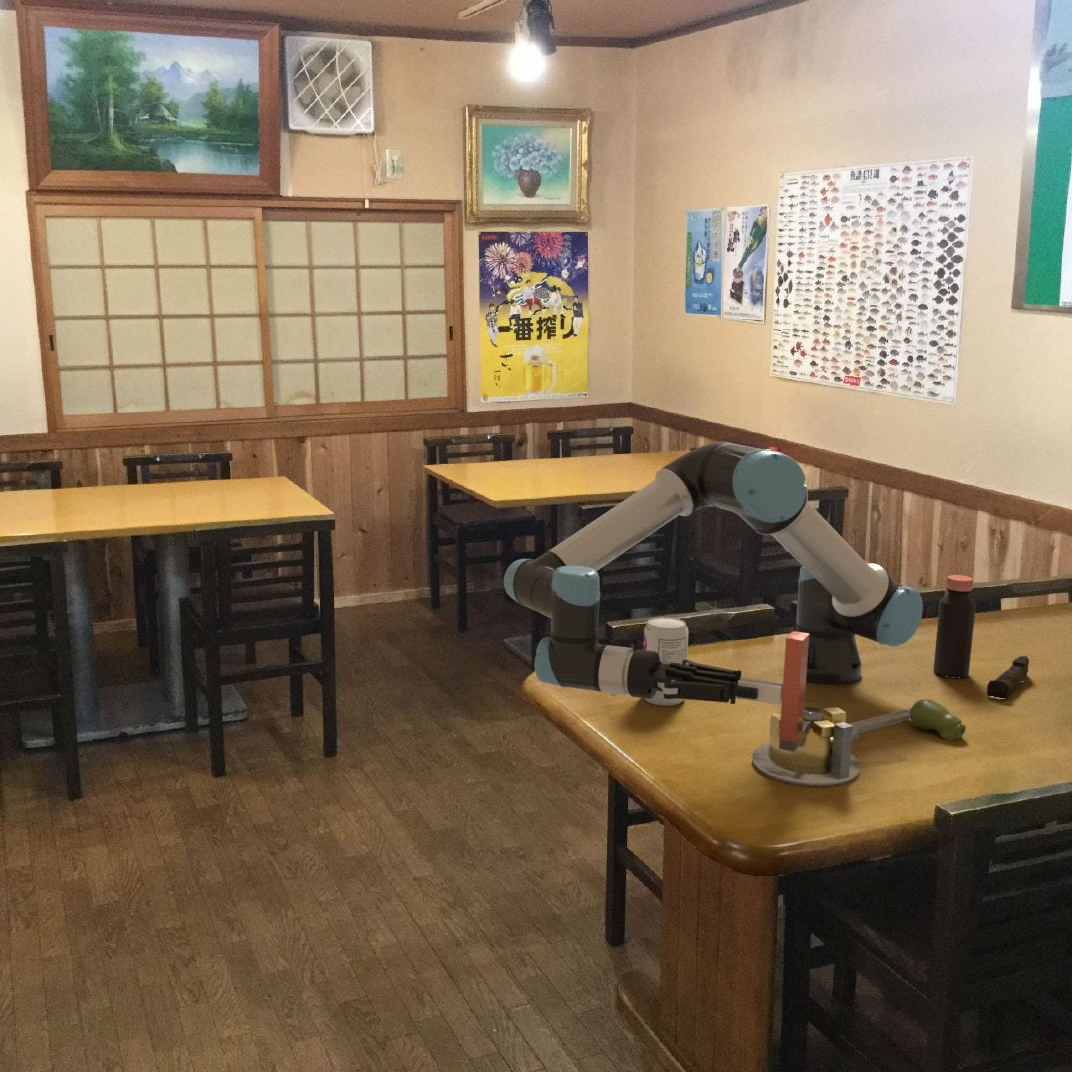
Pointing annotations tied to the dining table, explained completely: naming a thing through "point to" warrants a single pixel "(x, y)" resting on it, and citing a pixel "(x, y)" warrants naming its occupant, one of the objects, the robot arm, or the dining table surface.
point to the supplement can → (666, 647)
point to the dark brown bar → (1009, 678)
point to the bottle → (955, 628)
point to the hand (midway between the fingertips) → (781, 693)
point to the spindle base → (841, 773)
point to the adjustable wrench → (879, 722)
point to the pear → (936, 719)
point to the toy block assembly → (800, 718)
